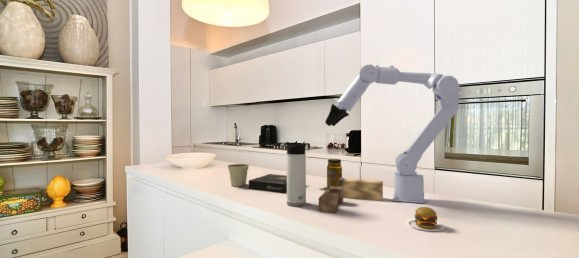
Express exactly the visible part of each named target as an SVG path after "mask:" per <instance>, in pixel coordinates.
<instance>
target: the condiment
mask: <svg viewBox="0 0 579 258" xmlns="http://www.w3.org/2000/svg"><path fill="white" fill-rule="evenodd" d="M340 178H343V166H342V160H341V159H340V158H329V159H328V160H327V166H326V186H325V187H324V186H323V187H322V188H321V187H319V190H322V191H324V192H325V191H326V190H327V189H329V188H330V187H331V186H338V187H339V179H340Z"/></svg>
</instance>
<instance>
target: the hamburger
mask: <svg viewBox="0 0 579 258" xmlns="http://www.w3.org/2000/svg"><path fill="white" fill-rule="evenodd" d="M437 214H438V213H437V211H435V210H434V209H433V208H431V207H428V206H421V207H418V208H416V209H415V213H414V214H413V218H410V219H408V220H406V224H407V225H408V226H410V227H411V228H413V229H416V230H420V231H424V232H438V231H441V230H443V229H445V227H446V226H445V225H444V224H443V223H441V222H440V221H438V219H439V217H438V216H437ZM414 222H415V225H416V226H417V227H416V226H412V224H411V223H414ZM437 225H438V226H439V227H440V228H439V229H435V228H436V227H437Z"/></svg>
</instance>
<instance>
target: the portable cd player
mask: <svg viewBox="0 0 579 258" xmlns="http://www.w3.org/2000/svg"><path fill="white" fill-rule="evenodd" d="M248 190H252V191H253V190H254V191H261V192H267V193H269V192H271V193H276V194H277V193H278V194H287V174H286V175H284V174H274V173H269V174H265V175H262V176H259V177H256V178H252V179H249V180H248Z"/></svg>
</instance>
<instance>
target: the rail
mask: <svg viewBox="0 0 579 258" xmlns="http://www.w3.org/2000/svg"><path fill="white" fill-rule="evenodd" d="M339 187H343V199H344V198H346V199H357V198H358V199H361V200H371V201H383V197H384V192H383V191H384V183H383V180H369V179H368V180H367V179H354V178H353V179H350V178H348V179H347V178H345V177H342V178H340V179H339Z"/></svg>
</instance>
